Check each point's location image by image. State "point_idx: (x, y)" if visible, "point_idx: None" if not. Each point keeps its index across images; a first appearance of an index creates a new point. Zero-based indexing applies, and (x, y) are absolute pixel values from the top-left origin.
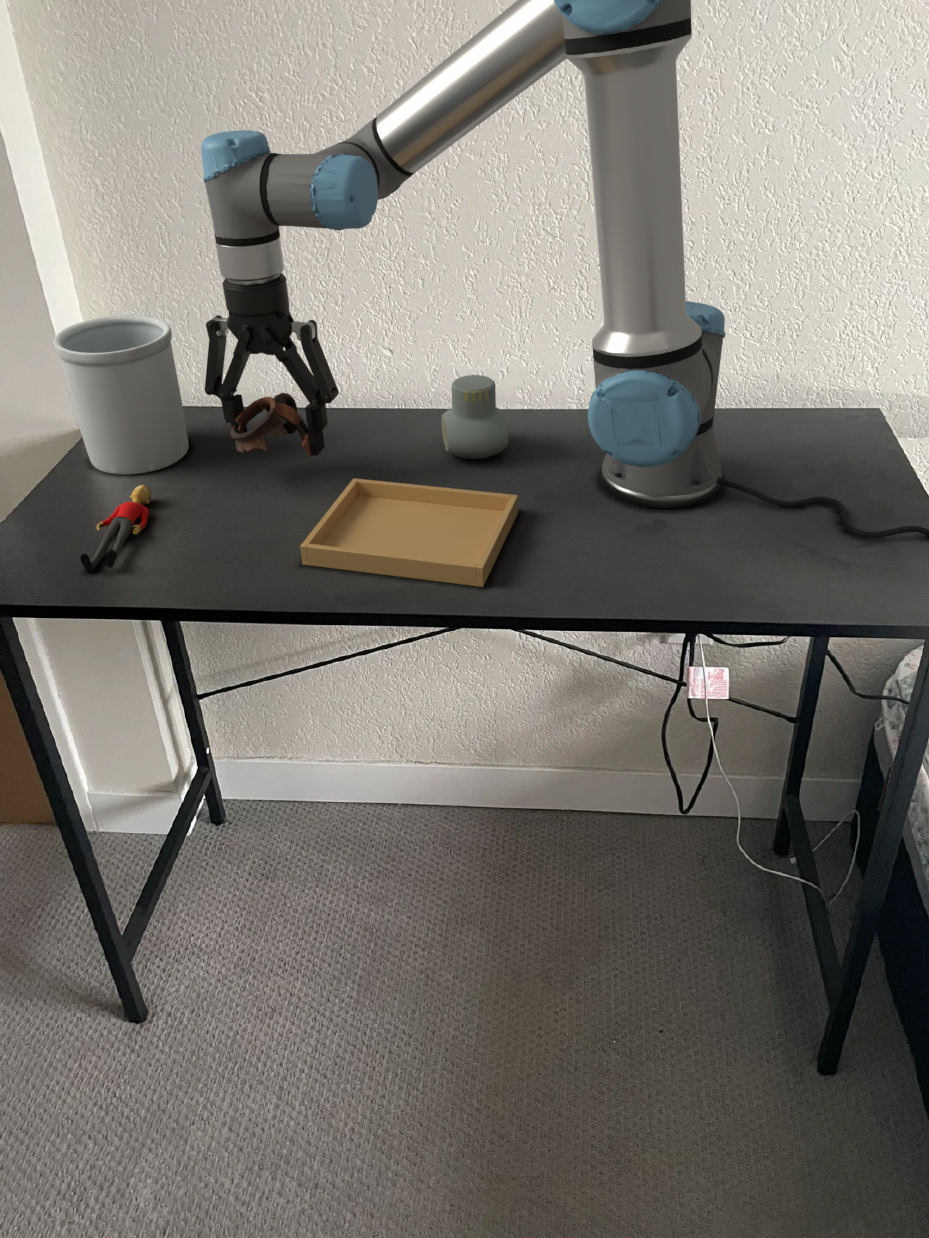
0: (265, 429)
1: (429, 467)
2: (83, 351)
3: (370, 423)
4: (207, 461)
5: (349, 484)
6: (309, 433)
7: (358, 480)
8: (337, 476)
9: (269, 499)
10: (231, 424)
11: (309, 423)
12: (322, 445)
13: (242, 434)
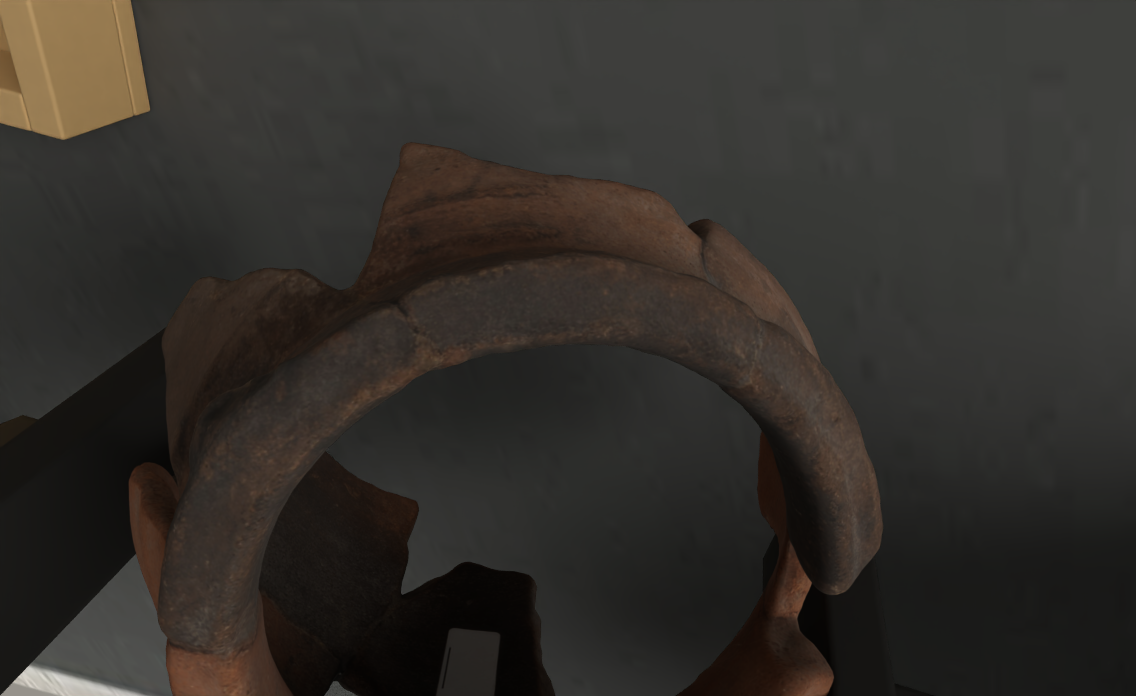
0: (318, 335)
1: (17, 365)
2: None
3: None
4: (1070, 558)
5: (33, 49)
6: (124, 397)
7: (21, 109)
8: None
9: (607, 63)
10: (883, 653)
11: (33, 457)
12: None
13: (663, 323)
